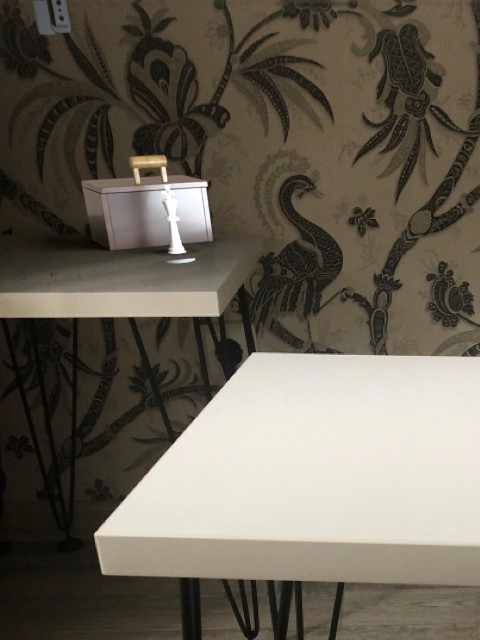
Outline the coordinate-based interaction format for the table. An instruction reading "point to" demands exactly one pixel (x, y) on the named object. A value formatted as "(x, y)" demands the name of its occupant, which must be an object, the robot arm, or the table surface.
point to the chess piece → (173, 226)
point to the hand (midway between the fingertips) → (54, 33)
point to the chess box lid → (144, 178)
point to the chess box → (146, 217)
